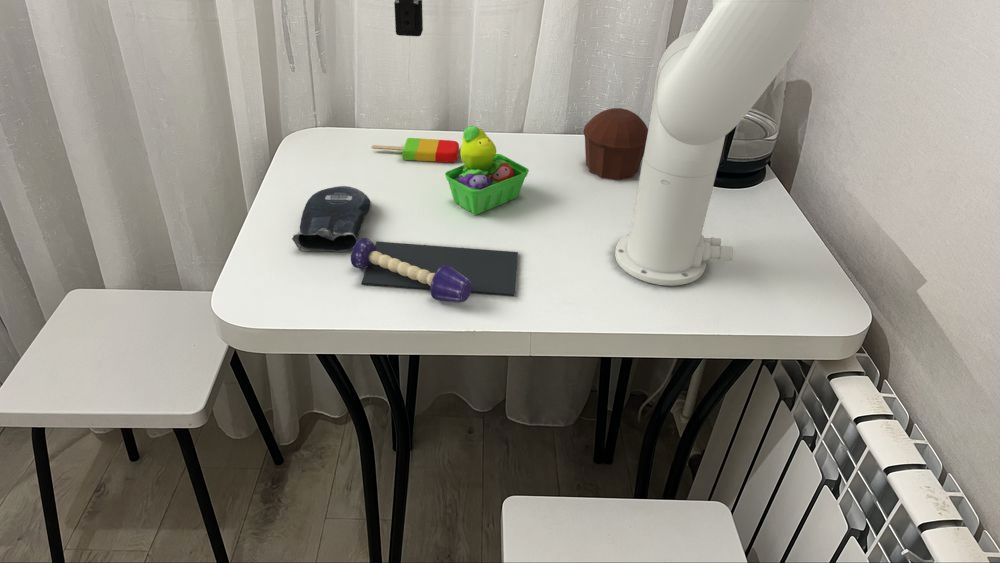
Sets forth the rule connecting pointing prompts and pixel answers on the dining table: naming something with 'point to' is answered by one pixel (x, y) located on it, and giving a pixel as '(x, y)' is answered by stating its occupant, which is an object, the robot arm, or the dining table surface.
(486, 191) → the fruit basket
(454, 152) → the popsicle
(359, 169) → the dining table surface
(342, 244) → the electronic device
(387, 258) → the toy lamp
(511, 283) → the mat
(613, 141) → the muffin
